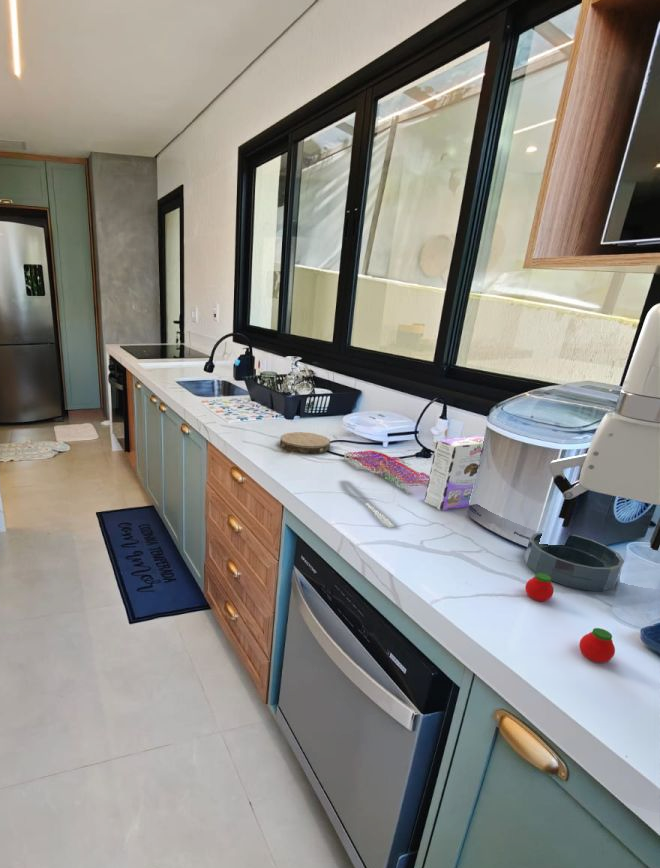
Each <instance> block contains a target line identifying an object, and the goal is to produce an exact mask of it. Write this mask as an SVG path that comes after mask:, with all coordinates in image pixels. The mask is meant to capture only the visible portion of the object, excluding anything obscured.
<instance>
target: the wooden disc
mask: <svg viewBox="0 0 660 868" xmlns="http://www.w3.org/2000/svg"><path fill="white" fill-rule="evenodd" d="M279 443H280V444H279V448H280V449H281V450H283V451H285V452H287V453H290V454H292V453H297V454H305V455H318V454H324V453H326V452H328V451H329V450H330V446H331V445H330V444H331V440H330V438H328V437H327V436H324V435H323V434H318V433H313V432H303V431H302V432H301V431H300V432H299V431H297V432H295V431H293V432H287V433H283V434H282V435H281V436H280V439H279Z"/></svg>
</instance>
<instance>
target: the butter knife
mask: <svg viewBox="0 0 660 868" xmlns="http://www.w3.org/2000/svg"><path fill="white" fill-rule="evenodd" d="M365 505H366V506H367V507H368V509H370V510H371V512H372V513H373V514H374V515H375V517H376V518H377V519H378V520H379V521H380V522H381V523H382V524H383V525H384V526H385V527H386V528H387V527H388V528H394V527H395V525H394V523H393V522H392V521H390V520H389V518H387V517H386V516H385V515H384V514H383V513H382V512H380V511H379V510H377V509H376V508H375V507H373V506H372V505H371V504H370V503H368V502H365Z"/></svg>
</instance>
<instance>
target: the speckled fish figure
mask: <svg viewBox="0 0 660 868" xmlns="http://www.w3.org/2000/svg"><path fill="white" fill-rule="evenodd" d="M347 458H348V461H349V465H352V463H354V462H355V463H357V464H356V465H355V466H356V467H355V469H357V471H358V470H362V467H363V468H364V469H366V470H367V471H368V472H370V473H372V474H376V475H380V477H382V478H383V477H384V479H385V480H386V481H388V482H390V483H394V484H395V486H396V487H398V489H400V488H401V490H402V491H404V492H405V493H408V492H409V491H410V487H418V486H428V481H429V476H430V474H427V473H425V472H418V471H416V470H415V469H414V468H412V467H410V466H412V464H411V463H409V462H407V461H405V460H404V459H402V458H400V457H398V456H390V455H388V454H386V453H384V452H378V451H376V450H364V451H354V452H353V451H349V452H344V457H343V460H344V461H345V462H346V461H347ZM399 483H400V484H401V485H399Z"/></svg>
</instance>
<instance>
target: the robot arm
mask: <svg viewBox="0 0 660 868" xmlns="http://www.w3.org/2000/svg"><path fill="white" fill-rule="evenodd" d="M576 467H581V468H580V472H579V478H578V480H576V481H574V482H572V483H571V482H570V481H569V479H568V478H567V477H566V476H565V473H564V470H565V469H571V468H576ZM549 469H550V472H551V476H552V478H553V483H554V485H555V486H556V488H557V489H558V490H559V491H560V493H561V494H562V497H563V498H564V499H563V501H562V505H561V508H560V511H559V514H558V519H562V520H563V522H562V524H561V527H563V528H568V527H569V526H570V523H571V520H572V517H573V514H574V511H575V507H576V504H577V501H578V499H579V497H578V496H579V495H581V494H584V493H585V492H587V491H591V492H595V493H599V494H604V495H608V496H612V497H617V498H621V499H626V500H631V501H635V502H641V503H646V504H651V505H656V506H660V302H659V303H656V304H655V305H653V306H652V307H651V308H650V309H649V311H648V312H647V314H646V316H645V319H644V321H643V325H642V328H641V330H640V333H639V336H638V339H637V342H636V345H635V347H634V351H633V353H632V357H631V360H630V363H629V366H628V369H627V372H626V375H625V378H624V381H623V384H622V386H621V390H620V392H619V395H618V397H617V401H616V404H615V407H614V410H613V412H606V413H605V415H604V416H603V417H602V419H601V420H600V423H599V424H598V427H597V428H596V430H595V433H594V434H593V437H592V439H591V441H590V444H589V447H588V449H587V452H586V453H583V454H578V455H573V456H568V457H563V458H558V459H553V460H552V461H550V464H549ZM649 543H650V544H649V545H650V549H651V550H653V551H659V549H660V517H659V518H658V521H657V523H656V525H655V528H654V530H653V533H652V535H651V537H650V541H649Z"/></svg>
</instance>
